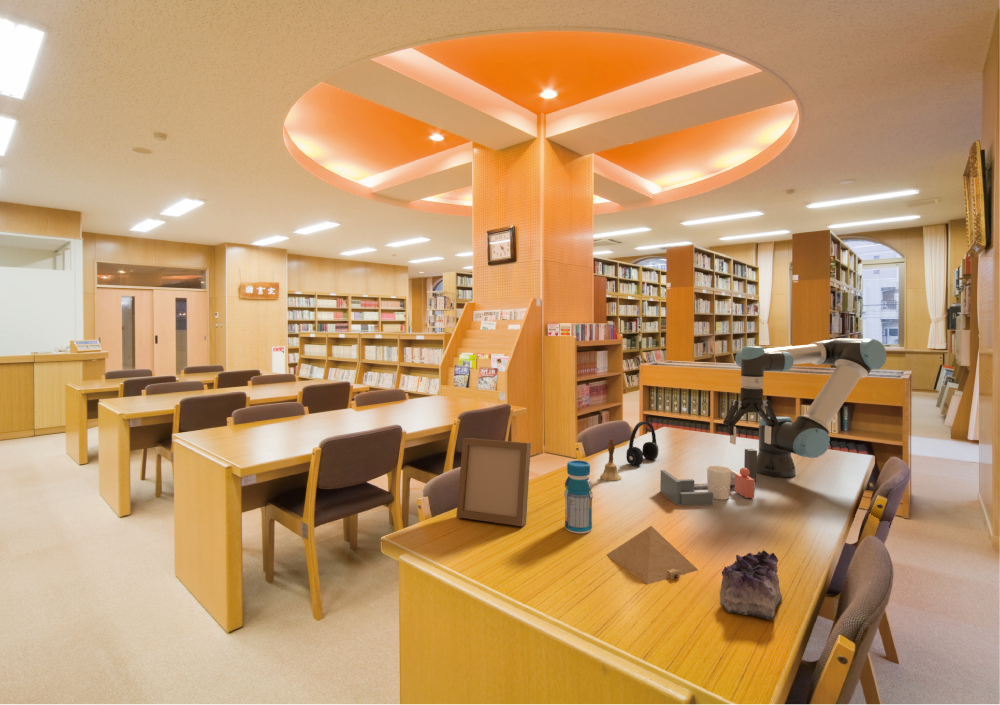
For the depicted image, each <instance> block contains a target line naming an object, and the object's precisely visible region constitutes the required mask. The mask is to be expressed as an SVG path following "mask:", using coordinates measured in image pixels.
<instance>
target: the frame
mask: <svg viewBox="0 0 1000 705" xmlns="http://www.w3.org/2000/svg"><path fill="white" fill-rule="evenodd" d="M694 484H695V479H694V478H692V479H689V478H688V479H685V478H683V479H678V478H676V477H675V476H674V475H672V474H671V473H670V472H668V471H667V470H666V469H660V484H659V485H660V486H659V488H660V493H661V494H662V495H664V496H665V497H666V498H668V499H669V501H671V502H672V503H674V504H675V505H676V506H683V507H684V506H704V505H705V506H709V505H711V506H713V505H714V498H713V493H712V492H708V491H695V489H694Z"/></svg>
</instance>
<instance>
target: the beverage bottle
mask: <svg viewBox="0 0 1000 705" xmlns="http://www.w3.org/2000/svg"><path fill="white" fill-rule="evenodd" d="M566 472H567V475H568V476H567V478H566V480H565V482H564V487H565V490H564V493H563V494H564V510H565V512H564V515H565V517H564V528H565V530H567V531H568V532H569V533H573V534H579V535H580V534H588V533H590V532H591V531H592V529H593V521H592V520H593V498H594V494H593V491H592V489H593V483H592V481H591V479H590V477H589V476H590V474H591V464H590V463H589V462H588V461H584V460H577V459H576V460H571V461H568V462H567V465H566Z"/></svg>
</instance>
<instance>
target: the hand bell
mask: <svg viewBox="0 0 1000 705" xmlns="http://www.w3.org/2000/svg"><path fill="white" fill-rule="evenodd" d="M615 446H616V445H615V441H614V439H613V438H609V441H608V444H607V451H608V462H607V463H605V465H604V470H603V472H602V474H600V479H601V480H603V481H609V482H618V481H620V480H622V477H621V475H620V474H619V473H618V467H617V464H616V463H614V453H615Z"/></svg>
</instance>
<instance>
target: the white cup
mask: <svg viewBox="0 0 1000 705" xmlns="http://www.w3.org/2000/svg"><path fill="white" fill-rule="evenodd" d="M731 469H732V468H729V467H726V466H722V465H721V466H720V465H709V466H707V467H706V476H707V479H706V480H707V481H706V482H707V483H706V484H708V489H707V492H712V493H713V499H716V500H728V499H729V498H730V490H731V488H730V483H731Z"/></svg>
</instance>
